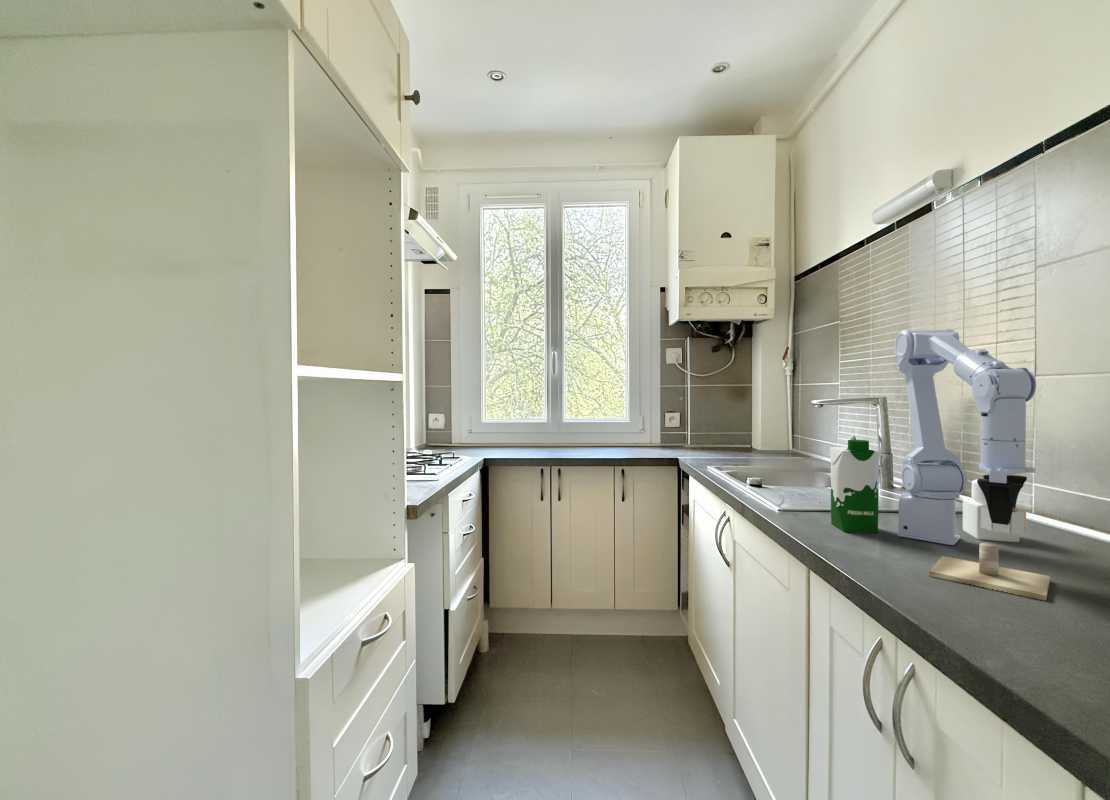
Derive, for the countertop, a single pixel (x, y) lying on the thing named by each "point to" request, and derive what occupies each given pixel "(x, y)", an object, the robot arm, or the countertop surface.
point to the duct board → (989, 582)
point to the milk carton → (855, 487)
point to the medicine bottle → (974, 518)
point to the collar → (1014, 526)
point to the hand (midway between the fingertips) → (1002, 520)
